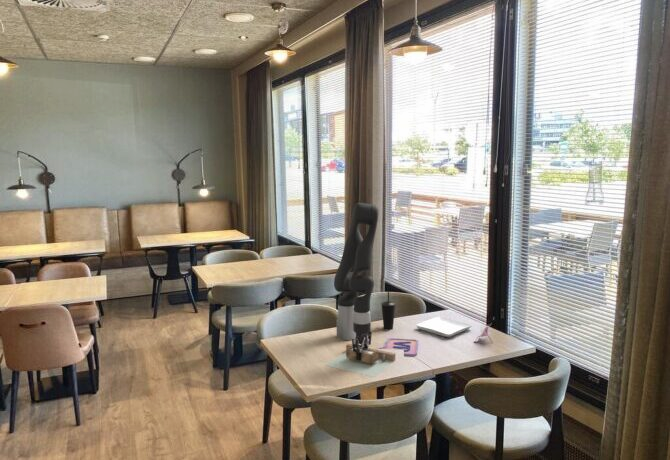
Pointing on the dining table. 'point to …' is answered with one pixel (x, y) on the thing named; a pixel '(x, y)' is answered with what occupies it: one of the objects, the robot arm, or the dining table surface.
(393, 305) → the drinking cup
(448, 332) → the salad plate
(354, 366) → the wall panel
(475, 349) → the dining table surface
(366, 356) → the frame
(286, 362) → the dining table surface
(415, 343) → the icon
